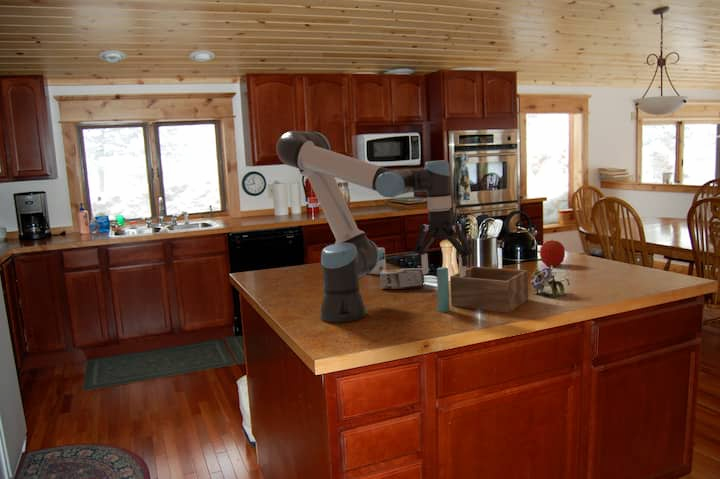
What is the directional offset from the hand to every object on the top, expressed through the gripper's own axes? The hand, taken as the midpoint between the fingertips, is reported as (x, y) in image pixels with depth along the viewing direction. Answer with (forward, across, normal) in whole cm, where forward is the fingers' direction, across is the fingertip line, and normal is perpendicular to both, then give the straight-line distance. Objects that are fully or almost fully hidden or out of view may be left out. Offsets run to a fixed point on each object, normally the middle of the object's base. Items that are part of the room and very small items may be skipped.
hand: (443, 275), depth 179 cm
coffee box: (+8, +38, -18) cm, 43 cm away
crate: (+12, -9, -14) cm, 21 cm away
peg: (+12, +1, 0) cm, 12 cm away
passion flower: (+13, -22, -33) cm, 42 cm away
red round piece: (+12, -9, -77) cm, 78 cm away
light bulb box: (+11, +58, -39) cm, 70 cm away
